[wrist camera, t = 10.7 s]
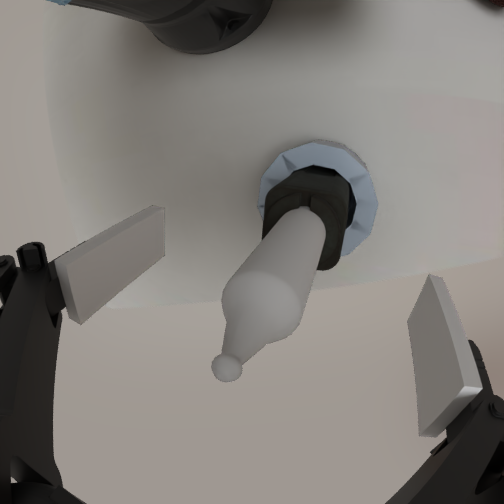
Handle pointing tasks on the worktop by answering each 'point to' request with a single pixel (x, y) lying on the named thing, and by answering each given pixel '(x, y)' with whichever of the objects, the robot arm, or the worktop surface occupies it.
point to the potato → (498, 2)
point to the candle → (283, 264)
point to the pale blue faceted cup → (347, 166)
